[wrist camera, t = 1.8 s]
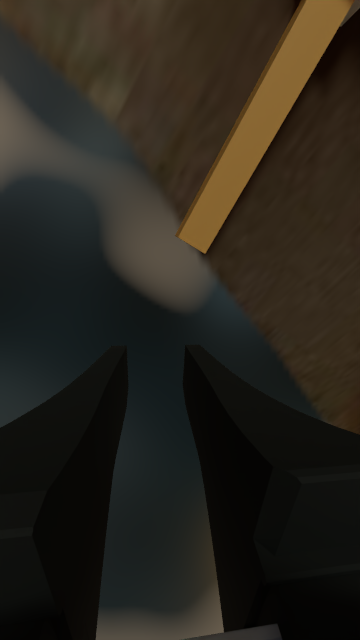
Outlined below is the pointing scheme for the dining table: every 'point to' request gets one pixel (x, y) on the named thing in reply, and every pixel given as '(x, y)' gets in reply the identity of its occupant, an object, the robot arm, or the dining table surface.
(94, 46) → the dining table surface
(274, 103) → the wooden stick
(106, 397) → the robot arm
